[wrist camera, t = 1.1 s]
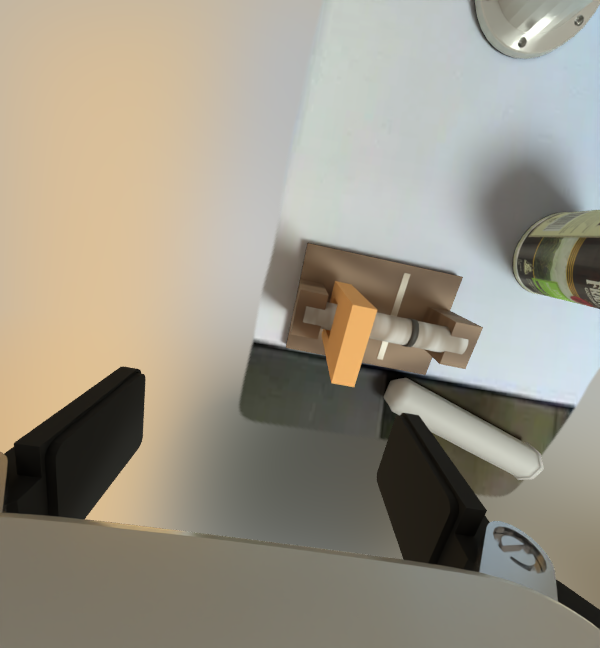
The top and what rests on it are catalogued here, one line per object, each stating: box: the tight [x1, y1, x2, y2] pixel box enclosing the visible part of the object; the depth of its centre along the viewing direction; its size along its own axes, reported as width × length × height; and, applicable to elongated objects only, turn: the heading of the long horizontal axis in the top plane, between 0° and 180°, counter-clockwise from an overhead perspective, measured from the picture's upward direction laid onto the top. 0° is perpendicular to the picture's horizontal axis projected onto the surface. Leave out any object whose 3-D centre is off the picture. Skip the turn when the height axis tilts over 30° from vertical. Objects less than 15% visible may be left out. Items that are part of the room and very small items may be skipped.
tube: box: [384, 378, 544, 480], centre depth 41 cm, size 5×5×25 cm
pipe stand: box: [286, 243, 483, 375], centre depth 34 cm, size 14×20×9 cm
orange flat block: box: [322, 281, 377, 387], centre depth 29 cm, size 7×2×12 cm, turn 168°
